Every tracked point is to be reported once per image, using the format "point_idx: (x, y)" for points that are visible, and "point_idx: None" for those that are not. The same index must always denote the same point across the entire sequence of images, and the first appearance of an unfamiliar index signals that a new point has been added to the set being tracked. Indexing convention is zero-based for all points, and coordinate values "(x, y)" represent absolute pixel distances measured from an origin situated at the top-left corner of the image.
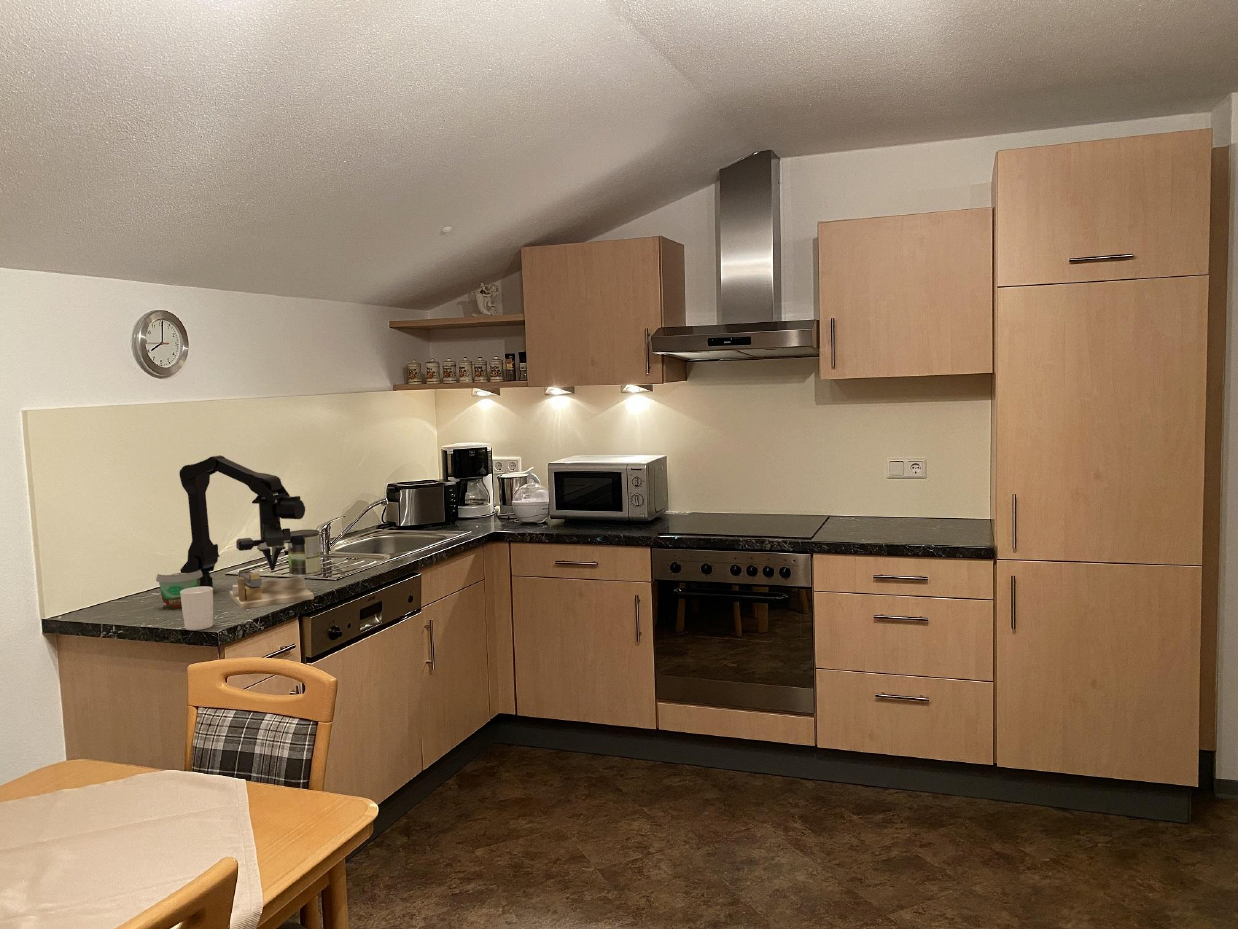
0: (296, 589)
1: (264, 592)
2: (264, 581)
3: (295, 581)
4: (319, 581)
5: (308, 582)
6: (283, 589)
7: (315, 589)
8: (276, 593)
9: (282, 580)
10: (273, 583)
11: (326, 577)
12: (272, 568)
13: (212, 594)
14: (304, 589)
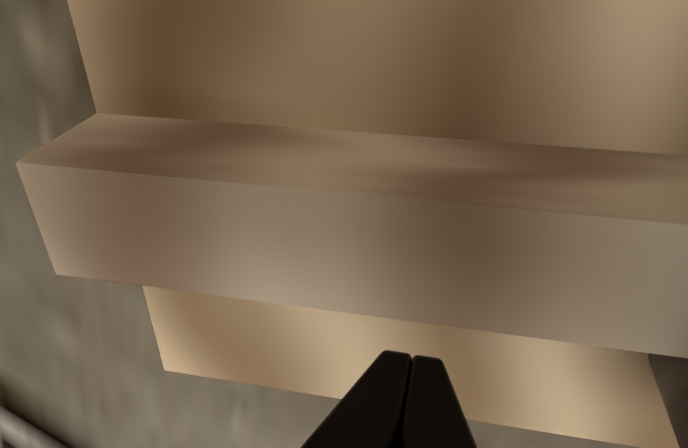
0: (187, 79)
1: (572, 149)
2: (532, 317)
3: (145, 157)
4: (40, 387)
5: (110, 410)
6: (328, 134)
7: None
8: (453, 8)
9: (299, 206)
10: (441, 189)
11: (10, 443)
12: (414, 378)
13: None
14: (96, 8)
